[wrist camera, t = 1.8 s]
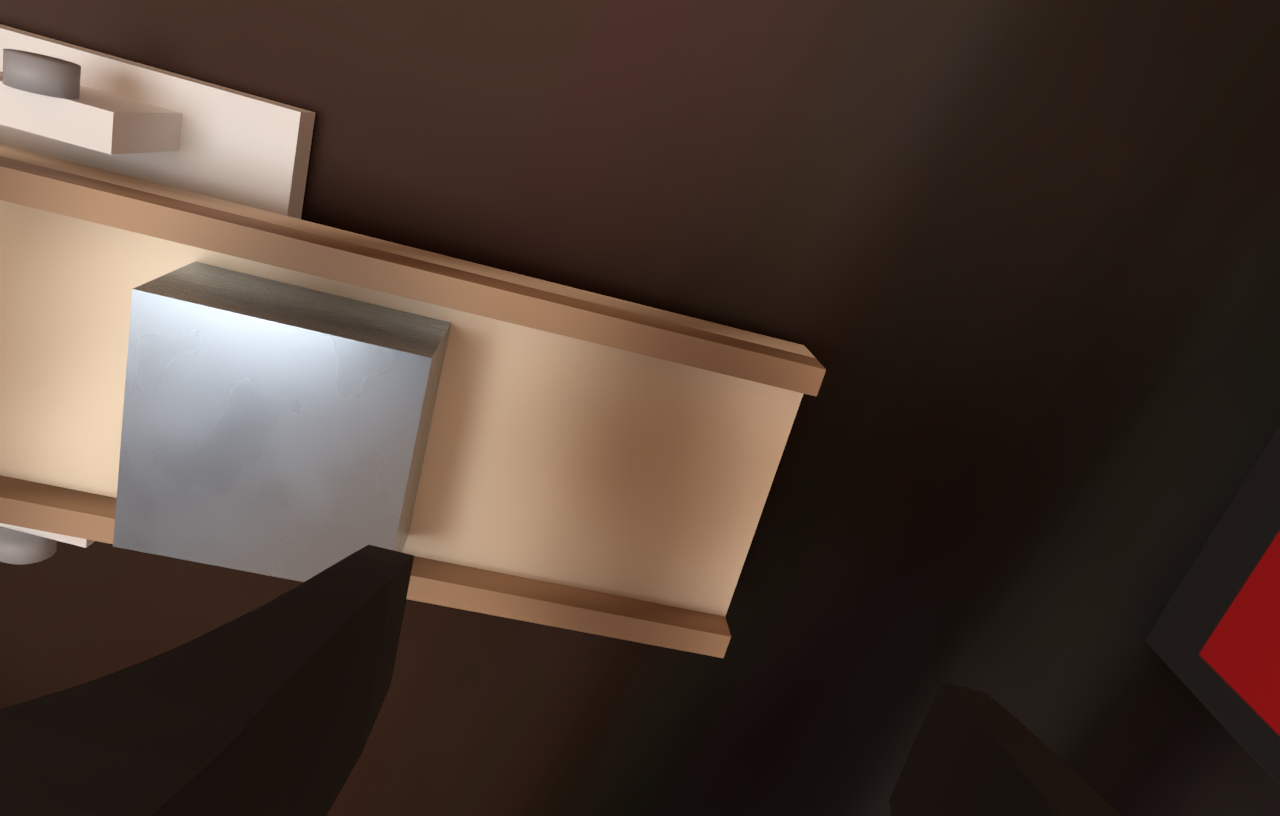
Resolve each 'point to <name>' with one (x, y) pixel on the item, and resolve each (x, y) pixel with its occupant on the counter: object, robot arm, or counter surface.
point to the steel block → (271, 422)
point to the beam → (463, 413)
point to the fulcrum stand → (145, 148)
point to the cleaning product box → (1234, 617)
